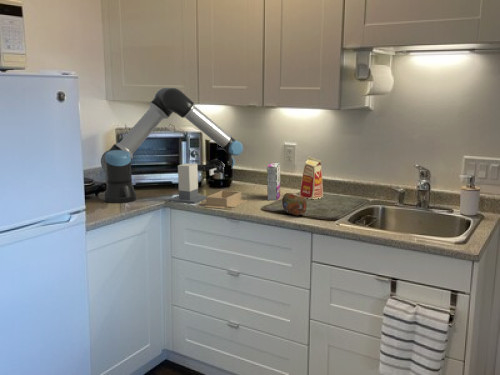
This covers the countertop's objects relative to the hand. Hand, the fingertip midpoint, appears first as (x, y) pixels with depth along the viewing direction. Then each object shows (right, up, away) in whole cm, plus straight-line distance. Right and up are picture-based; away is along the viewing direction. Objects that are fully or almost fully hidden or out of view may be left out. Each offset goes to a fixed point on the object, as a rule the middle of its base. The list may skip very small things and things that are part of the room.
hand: (197, 172), depth 254 cm
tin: (+45, -19, -35) cm, 60 cm away
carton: (+14, -15, -14) cm, 24 cm away
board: (-4, -14, -6) cm, 15 cm away
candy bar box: (+37, -13, -4) cm, 40 cm away
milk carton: (+56, -13, -4) cm, 58 cm away
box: (-4, -13, -6) cm, 15 cm away
